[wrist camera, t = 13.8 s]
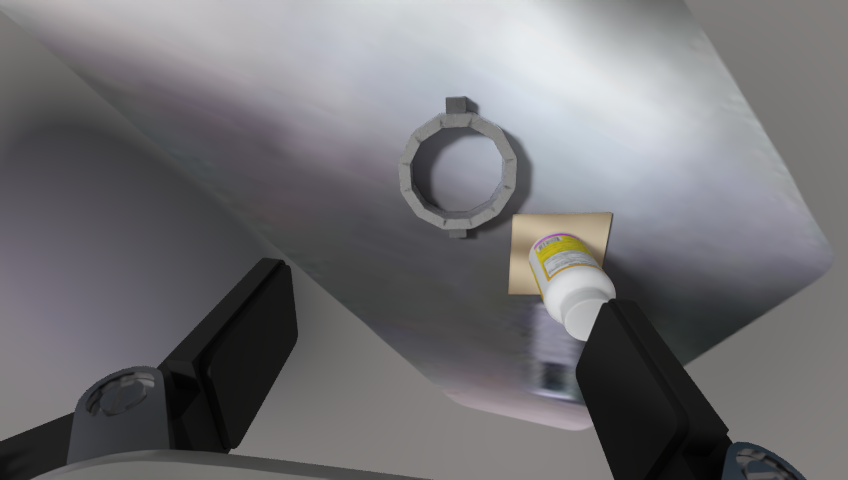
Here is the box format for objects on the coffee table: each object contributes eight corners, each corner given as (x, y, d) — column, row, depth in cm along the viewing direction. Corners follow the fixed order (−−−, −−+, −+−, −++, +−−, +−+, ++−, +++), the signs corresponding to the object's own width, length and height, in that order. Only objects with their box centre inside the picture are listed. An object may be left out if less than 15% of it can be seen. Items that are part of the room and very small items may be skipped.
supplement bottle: (570, 283, 44) (610, 357, 33) (519, 270, 44) (541, 340, 32) (593, 237, 41) (646, 300, 30) (539, 223, 41) (571, 281, 29)
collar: (397, 100, 37) (393, 101, 35) (516, 93, 36) (520, 95, 33) (407, 232, 43) (405, 241, 41) (509, 231, 42) (512, 240, 40)
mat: (512, 214, 41) (513, 215, 41) (610, 212, 40) (612, 213, 40) (508, 292, 46) (508, 294, 46) (595, 292, 45) (596, 294, 44)
